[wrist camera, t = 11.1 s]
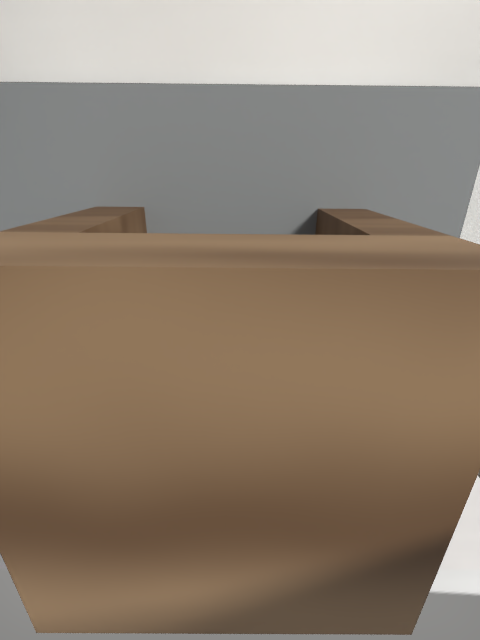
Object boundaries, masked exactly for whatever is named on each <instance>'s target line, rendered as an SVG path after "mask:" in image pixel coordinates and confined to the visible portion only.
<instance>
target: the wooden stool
mask: <svg viewBox="0 0 480 640" xmlns="http://www.w3.org/2000/svg"><path fill="white" fill-rule="evenodd" d="M479 470H480V245H479V244H476V243H473V242H470V241H466V240H463V239H460V238H457V237H454V236H450V235H447V234H444V233H441V232H438V231H434V230H431V229H428V228H425V227H422V226H418V225H415V224H412V223H409V222H406V221H403V220H399V219H396V218H393V217H390V216H387V215H383V214H380V213H377V212H374V211H371V210H367V209H318V212H317V222H316V232H315V235H292V234H178V233H147V228H146V218H145V209H144V207H92V208H89V209H85V210H81V211H77V212H73V213H69V214H65V215H61V216H57V217H53V218H50V219H46V220H42V221H38V222H34V223H30V224H26V225H22V226H18V227H15V228H11V229H7V230H3V231H0V553H1V555H2V558H3V560H4V562H5V564H6V566H7V569H8V571H9V573H10V575H11V578H12V580H13V582H14V584H15V586H16V588H17V591H18V593H19V595H20V597H21V599H22V601H23V604H24V606H25V608H26V610H27V613H28V615H29V617H30V619H31V622H32V624H33V626H34V628H35V630H36V633H188V634H191V633H192V634H194V633H195V634H197V633H199V634H201V633H202V634H395V635H396V634H397V635H405V634H407V635H409V634H410V635H411V634H412V632H413V629H414V627H415V625H416V623H417V620H418V618H419V615H420V613H421V610H422V608H423V606H424V603H425V601H426V598H427V596H428V594H429V591H430V589H431V586H432V584H433V582H434V579H435V577H436V574H437V572H438V569H439V567H440V565H441V562H442V560H443V557H444V555H445V553H446V550H447V548H448V545H449V543H450V540H451V538H452V536H453V533H454V531H455V528H456V526H457V524H458V521H459V519H460V516H461V514H462V511H463V509H464V507H465V504H466V502H467V499H468V497H469V494H470V492H471V490H472V487H473V485H474V482H475V480H476V478H477V475H478V473H479Z"/></svg>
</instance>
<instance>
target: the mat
mask: <svg viewBox="0 0 480 640" xmlns="http://www.w3.org/2000/svg"><path fill="white" fill-rule="evenodd" d="M479 165H480V87H450V86H353V85H255V84H157V83H59V82H0V231H3V230H7V229H11V228H15V227H18V226H22V225H26V224H30V223H34V222H38V221H42V220H46V219H50V218H53V217H57V216H61V215H65V214H69V213H73V212H77V211H81V210H85V209H89V208H92V207H144V209H145V218H146V228H147V233H178V234H292V235H315V232H316V222H317V212H318V209H367V210H371V211H374V212H377V213H380V214H383V215H387V216H390V217H393V218H396V219H399V220H403V221H406V222H409V223H412V224H415V225H418V226H422V227H425V228H428V229H431V230H434V231H438V232H441V233H444V234H447V235H450V236H454V237H457V238H460V234H461V231H462V227H463V224H464V220H465V216H466V213H467V209H468V205H469V202H470V198H471V194H472V191H473V187H474V183H475V180H476V176H477V172H478V169H479Z"/></svg>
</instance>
